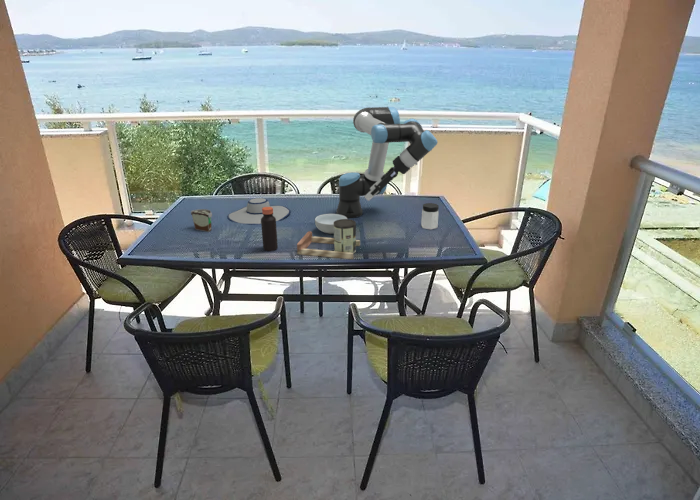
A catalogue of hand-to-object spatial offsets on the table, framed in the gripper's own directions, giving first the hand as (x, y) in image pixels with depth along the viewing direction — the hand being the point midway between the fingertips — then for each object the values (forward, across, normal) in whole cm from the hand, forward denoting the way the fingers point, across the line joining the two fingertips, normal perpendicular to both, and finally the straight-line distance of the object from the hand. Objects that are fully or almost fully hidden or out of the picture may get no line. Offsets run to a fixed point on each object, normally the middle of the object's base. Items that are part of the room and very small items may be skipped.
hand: (369, 194), depth 197 cm
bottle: (+52, -5, +13) cm, 54 cm away
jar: (+2, +41, -38) cm, 56 cm away
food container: (+83, +14, +44) cm, 95 cm away
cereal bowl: (+37, +24, -3) cm, 44 cm away
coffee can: (+28, 0, -12) cm, 30 cm away
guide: (+33, 0, -6) cm, 33 cm away
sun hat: (+71, +43, +31) cm, 88 cm away
